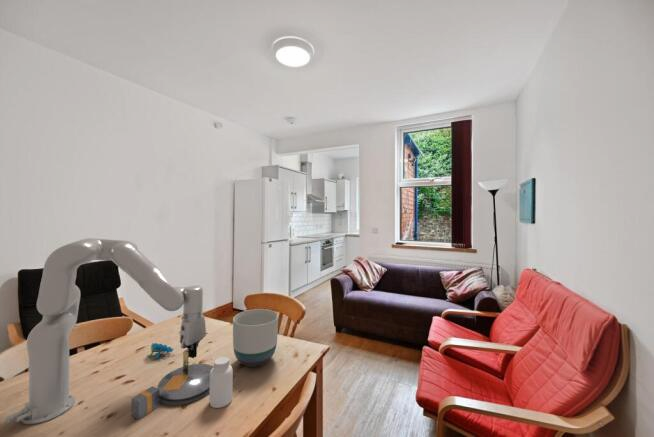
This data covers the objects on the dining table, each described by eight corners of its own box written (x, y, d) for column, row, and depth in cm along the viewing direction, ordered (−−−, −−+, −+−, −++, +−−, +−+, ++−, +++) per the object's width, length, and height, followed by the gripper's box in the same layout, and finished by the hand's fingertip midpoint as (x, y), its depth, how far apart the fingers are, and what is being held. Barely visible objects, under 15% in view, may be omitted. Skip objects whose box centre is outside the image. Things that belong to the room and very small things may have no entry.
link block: (138, 419, 87) (139, 401, 87) (131, 416, 88) (131, 398, 88) (159, 406, 93) (159, 389, 93) (151, 402, 95) (152, 386, 95)
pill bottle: (225, 390, 102) (225, 352, 102) (236, 400, 97) (237, 360, 97) (205, 401, 96) (205, 361, 96) (216, 412, 91) (216, 369, 90)
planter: (285, 356, 127) (286, 313, 127) (258, 380, 109) (259, 329, 108) (252, 347, 136) (253, 306, 135) (222, 367, 117) (223, 320, 117)
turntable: (183, 408, 90) (184, 382, 90) (144, 391, 99) (145, 367, 99) (228, 374, 110) (228, 353, 110) (192, 362, 118) (193, 343, 118)
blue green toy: (178, 349, 129) (164, 341, 122) (171, 362, 125) (157, 355, 118) (160, 349, 132) (146, 341, 125) (153, 361, 128) (138, 354, 121)
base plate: (183, 413, 90) (183, 410, 90) (142, 395, 98) (142, 392, 98) (230, 377, 110) (230, 375, 110) (192, 365, 119) (192, 363, 119)
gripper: (183, 322, 105) (183, 367, 105) (212, 310, 119) (212, 350, 119) (171, 319, 108) (170, 363, 108) (200, 308, 122) (200, 347, 122)
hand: (192, 356), depth 114 cm, fingers closed
